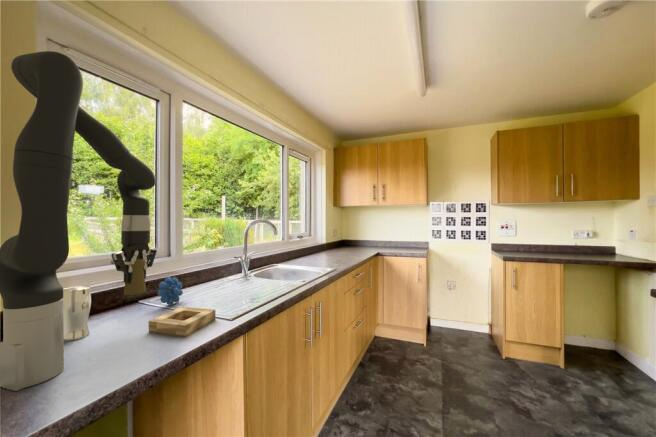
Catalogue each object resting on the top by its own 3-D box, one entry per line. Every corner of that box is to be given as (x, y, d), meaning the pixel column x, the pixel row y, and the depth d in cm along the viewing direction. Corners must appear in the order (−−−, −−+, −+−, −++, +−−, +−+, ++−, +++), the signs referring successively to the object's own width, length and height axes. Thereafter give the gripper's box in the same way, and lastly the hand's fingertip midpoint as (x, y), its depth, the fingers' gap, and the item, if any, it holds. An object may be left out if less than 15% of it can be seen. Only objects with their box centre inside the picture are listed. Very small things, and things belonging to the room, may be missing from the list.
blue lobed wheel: (166, 310, 102) (166, 280, 102) (153, 309, 104) (153, 279, 104) (190, 301, 114) (189, 274, 114) (177, 300, 116) (177, 273, 115)
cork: (134, 295, 81) (134, 260, 81) (118, 294, 82) (118, 259, 82) (151, 290, 87) (151, 257, 87) (135, 289, 88) (136, 256, 88)
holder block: (184, 337, 80) (184, 325, 80) (148, 332, 83) (148, 321, 83) (215, 319, 93) (215, 309, 93) (183, 316, 97) (183, 306, 97)
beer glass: (61, 336, 81) (61, 287, 81) (91, 329, 85) (91, 284, 85) (58, 344, 75) (57, 292, 75) (90, 337, 80) (90, 288, 80)
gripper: (123, 230, 77) (121, 288, 76) (164, 229, 90) (163, 278, 90) (103, 229, 78) (102, 287, 78) (147, 228, 92) (146, 277, 92)
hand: (135, 282), depth 84 cm, fingers closed on cork, 3 cm apart
